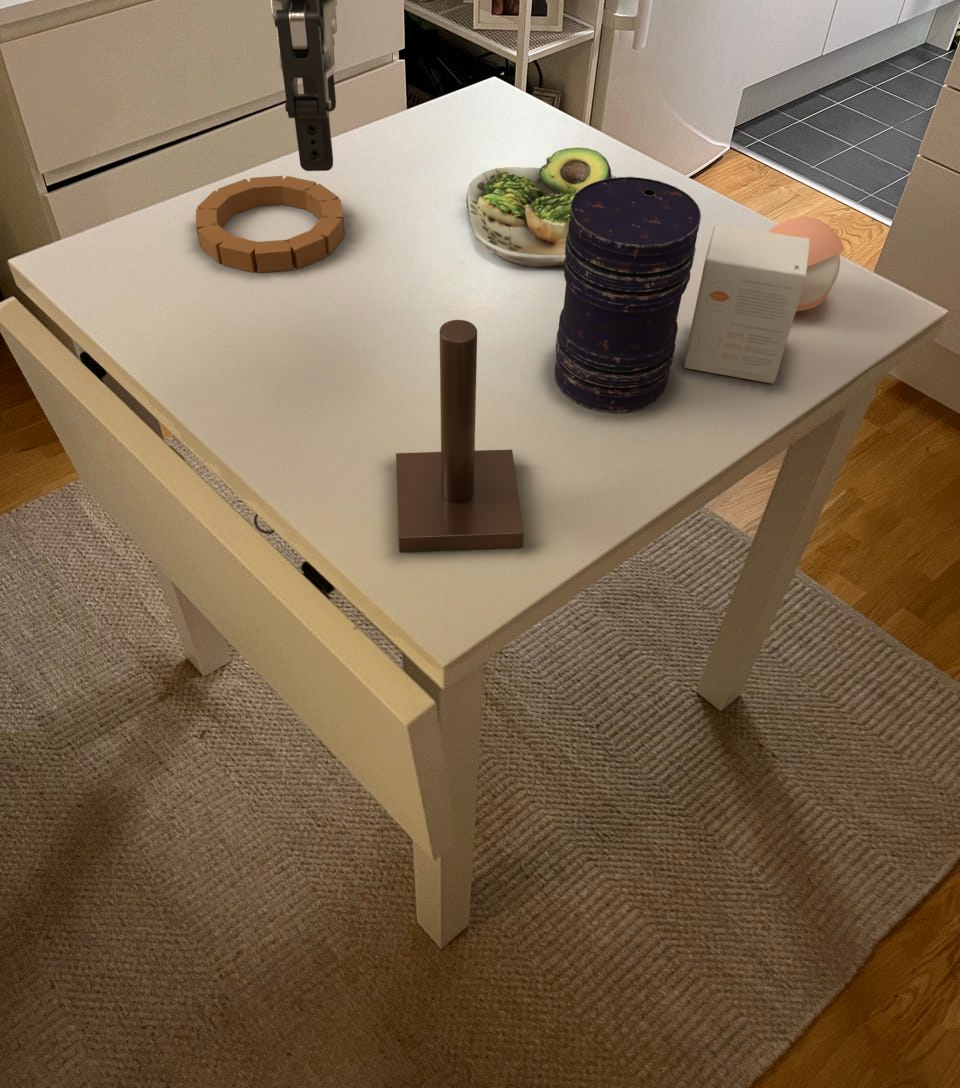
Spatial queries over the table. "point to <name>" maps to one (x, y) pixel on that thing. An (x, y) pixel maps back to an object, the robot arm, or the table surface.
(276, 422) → the table surface
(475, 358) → the peg
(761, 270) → the small box
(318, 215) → the ring
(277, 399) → the table surface
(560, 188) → the avocado toast plate
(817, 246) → the toy ball
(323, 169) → the robot arm
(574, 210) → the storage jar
